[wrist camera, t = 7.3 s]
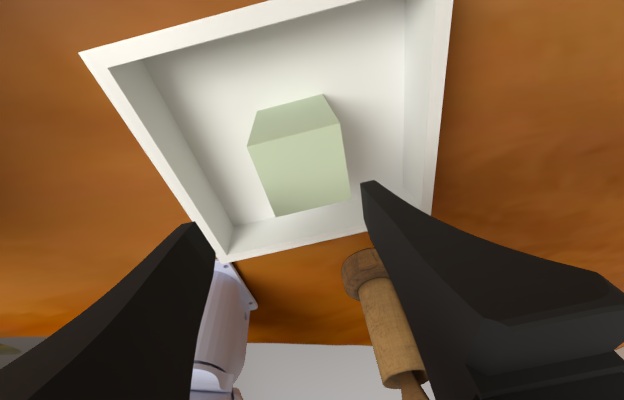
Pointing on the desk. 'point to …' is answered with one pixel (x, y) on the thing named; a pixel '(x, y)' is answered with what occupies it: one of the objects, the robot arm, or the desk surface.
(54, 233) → the desk surface
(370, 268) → the wooden pepper mill
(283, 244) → the white bin
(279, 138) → the green block
